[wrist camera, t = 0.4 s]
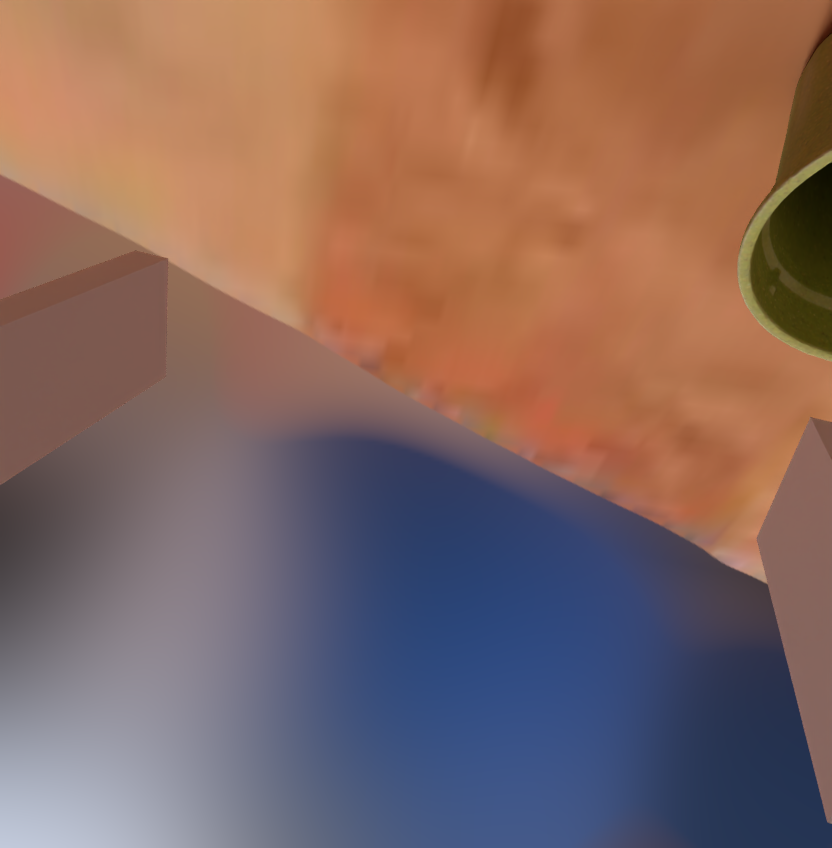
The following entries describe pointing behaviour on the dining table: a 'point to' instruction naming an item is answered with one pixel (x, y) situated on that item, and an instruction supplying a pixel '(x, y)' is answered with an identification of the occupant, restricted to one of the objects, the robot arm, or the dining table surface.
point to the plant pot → (797, 224)
